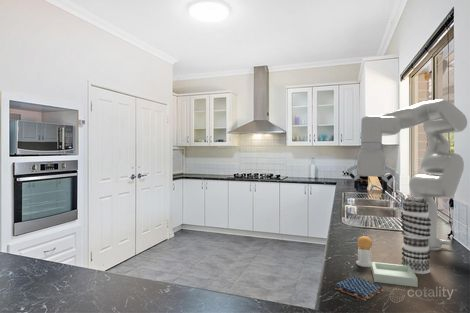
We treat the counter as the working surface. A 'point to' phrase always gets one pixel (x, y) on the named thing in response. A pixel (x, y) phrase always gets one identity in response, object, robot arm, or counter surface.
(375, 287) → the woven mat
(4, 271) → the counter surface
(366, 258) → the white octagonal socket
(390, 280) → the tray
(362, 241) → the ball
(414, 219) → the patterned cylinder
